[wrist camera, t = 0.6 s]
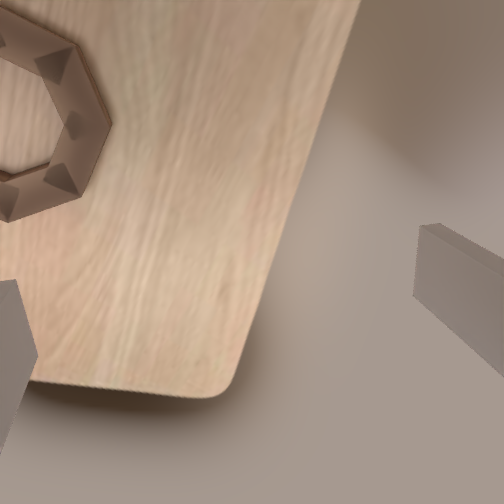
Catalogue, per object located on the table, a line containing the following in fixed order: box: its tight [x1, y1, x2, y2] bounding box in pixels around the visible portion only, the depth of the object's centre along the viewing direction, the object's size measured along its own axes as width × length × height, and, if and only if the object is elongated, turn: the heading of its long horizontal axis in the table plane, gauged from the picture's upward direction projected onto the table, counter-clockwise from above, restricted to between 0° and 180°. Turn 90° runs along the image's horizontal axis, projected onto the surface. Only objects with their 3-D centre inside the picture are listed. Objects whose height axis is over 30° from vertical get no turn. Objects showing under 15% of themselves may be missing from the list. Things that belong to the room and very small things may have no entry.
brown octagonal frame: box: [0, 6, 112, 223], centre depth 34 cm, size 14×14×2 cm
